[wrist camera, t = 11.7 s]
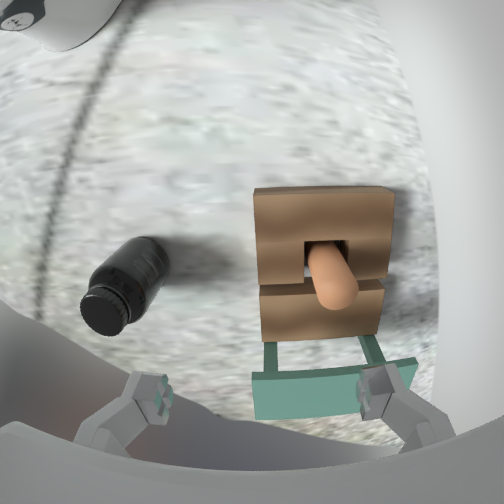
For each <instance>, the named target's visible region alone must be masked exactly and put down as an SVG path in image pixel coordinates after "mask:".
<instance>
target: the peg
mask: <svg viewBox="0 0 504 504" xmlns="http://www.w3.org/2000/svg"><path fill="white" fill-rule="evenodd" d="M304 252H305V256H306V259H307V262H308V266H309V269H310V272H311V276H312V279H313V283H314V286H315V290H316V293H317V297H318V300H319V302H320V303H321V305H322V306H324V307H325V308H327V309H330V310H340V309H344V308H346V307H348V306H349V305H351V304H352V303H353V302H354V300H355V299H356V297H357V295H358V291H359V287H358V283H357V281H356V279H355V277H354V276H353V274H352V272H351V270H350V268H349V267H348V265H347V263H346V261H345V260H344V258H343V256H342V254H341V253H340V251H339V249H338V248H337V246H336V244H335V242H334V241H333V240H325V241H306V243H305V246H304Z"/></svg>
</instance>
